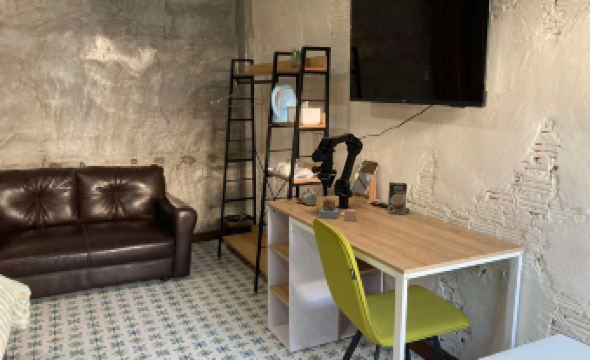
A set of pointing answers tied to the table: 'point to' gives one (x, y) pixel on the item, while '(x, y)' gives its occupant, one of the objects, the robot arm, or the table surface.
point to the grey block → (329, 214)
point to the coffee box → (397, 198)
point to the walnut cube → (328, 205)
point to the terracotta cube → (350, 215)
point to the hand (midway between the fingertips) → (327, 189)
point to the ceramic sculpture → (307, 198)
